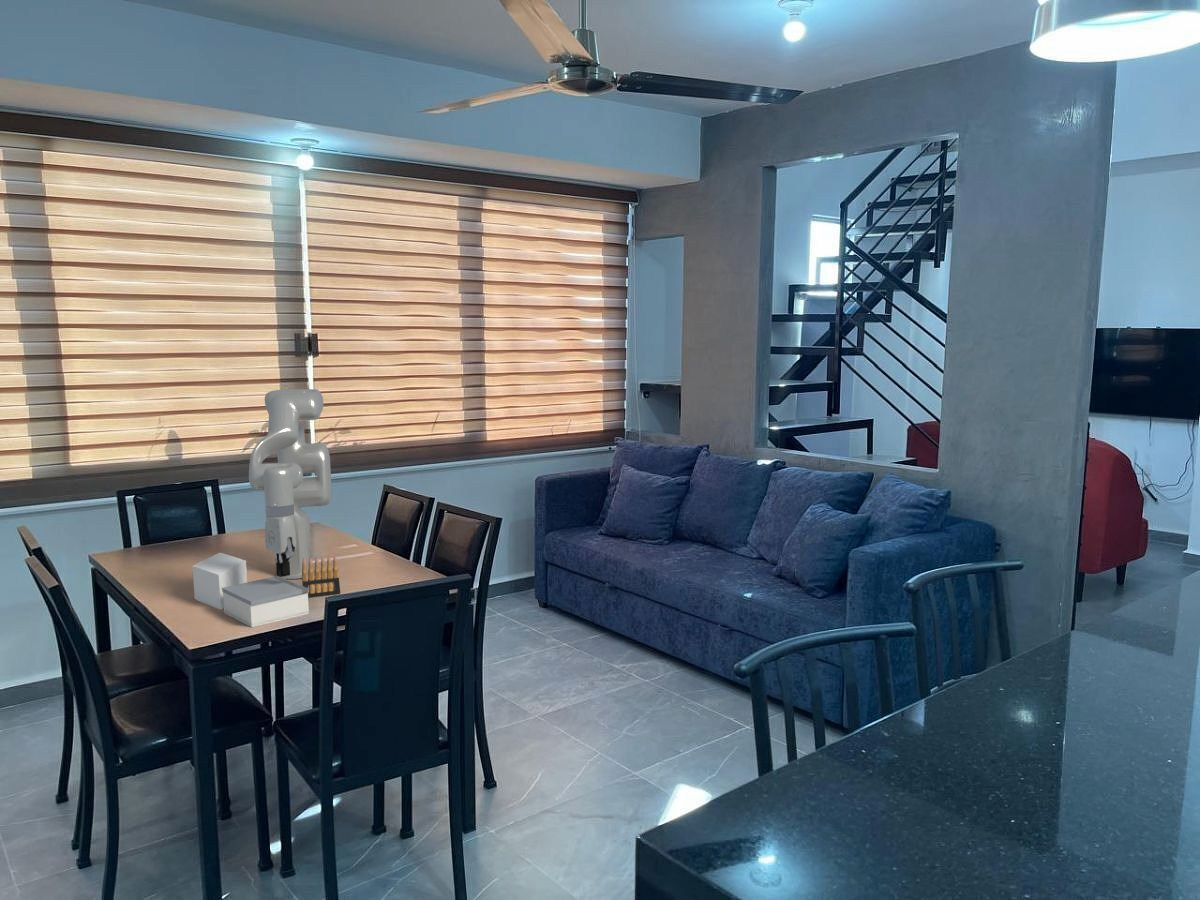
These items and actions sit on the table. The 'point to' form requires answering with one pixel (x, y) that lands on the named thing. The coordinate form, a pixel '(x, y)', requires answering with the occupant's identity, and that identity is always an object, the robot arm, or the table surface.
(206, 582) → the white rectangular block
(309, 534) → the robot arm
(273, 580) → the lid
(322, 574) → the ammunition clip
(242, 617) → the box
